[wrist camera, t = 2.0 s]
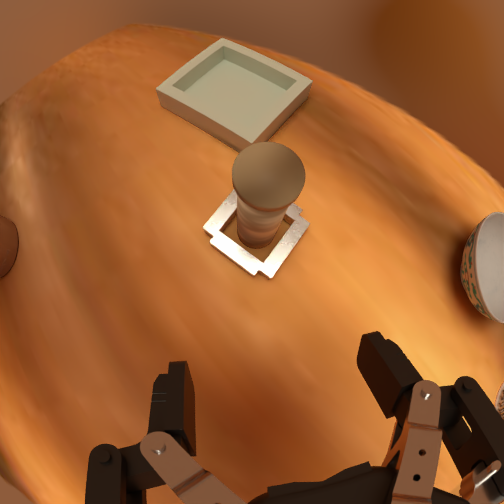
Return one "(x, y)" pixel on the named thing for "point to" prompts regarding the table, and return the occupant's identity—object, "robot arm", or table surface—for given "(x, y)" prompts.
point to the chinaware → (485, 267)
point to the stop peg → (265, 190)
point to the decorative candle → (500, 401)
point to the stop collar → (242, 256)
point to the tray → (234, 94)
